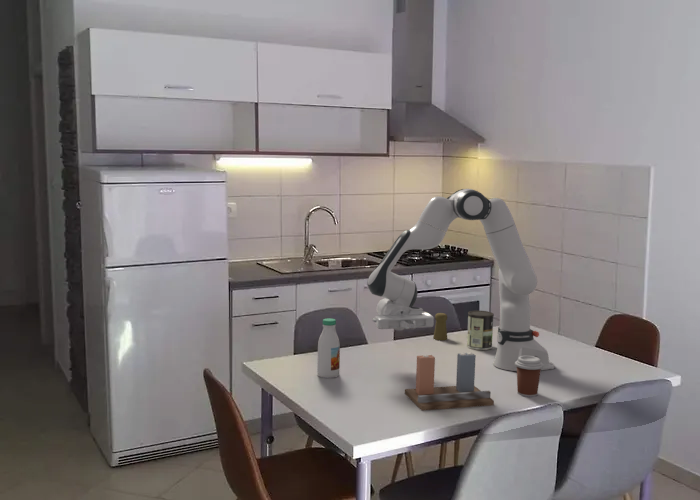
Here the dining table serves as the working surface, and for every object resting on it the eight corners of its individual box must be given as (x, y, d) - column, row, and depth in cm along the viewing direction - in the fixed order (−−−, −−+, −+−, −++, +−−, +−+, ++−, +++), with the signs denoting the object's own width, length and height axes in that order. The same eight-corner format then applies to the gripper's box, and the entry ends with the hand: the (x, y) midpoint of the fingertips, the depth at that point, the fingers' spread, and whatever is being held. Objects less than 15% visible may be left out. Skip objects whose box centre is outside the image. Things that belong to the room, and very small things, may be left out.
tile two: (470, 388, 242) (471, 352, 240) (473, 391, 239) (475, 354, 237) (456, 389, 240) (457, 352, 239) (459, 392, 237) (461, 355, 236)
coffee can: (489, 343, 304) (491, 310, 302) (494, 350, 294) (495, 316, 292) (464, 343, 304) (466, 309, 302) (468, 349, 294) (469, 315, 292)
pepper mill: (446, 341, 307) (448, 315, 306) (432, 340, 308) (433, 314, 307) (448, 337, 313) (449, 312, 311) (433, 336, 314) (434, 311, 313)
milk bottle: (323, 379, 252) (324, 322, 250) (313, 373, 259) (314, 318, 256) (343, 376, 256) (344, 320, 253) (333, 370, 263) (334, 316, 260)
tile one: (430, 390, 238) (431, 354, 236) (433, 393, 235) (435, 356, 233) (415, 391, 237) (416, 355, 235) (418, 394, 234) (420, 357, 232)
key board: (472, 388, 246) (473, 378, 245) (493, 405, 230) (494, 394, 230) (404, 393, 240) (405, 383, 239) (421, 410, 224) (422, 399, 224)
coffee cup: (529, 400, 236) (531, 364, 234) (507, 392, 243) (509, 357, 242) (547, 395, 241) (549, 359, 240) (525, 387, 249) (527, 353, 247)
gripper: (370, 309, 257) (382, 318, 244) (425, 307, 262) (440, 316, 249) (370, 327, 258) (382, 337, 245) (425, 324, 263) (439, 334, 250)
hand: (411, 326), depth 247 cm, fingers closed
